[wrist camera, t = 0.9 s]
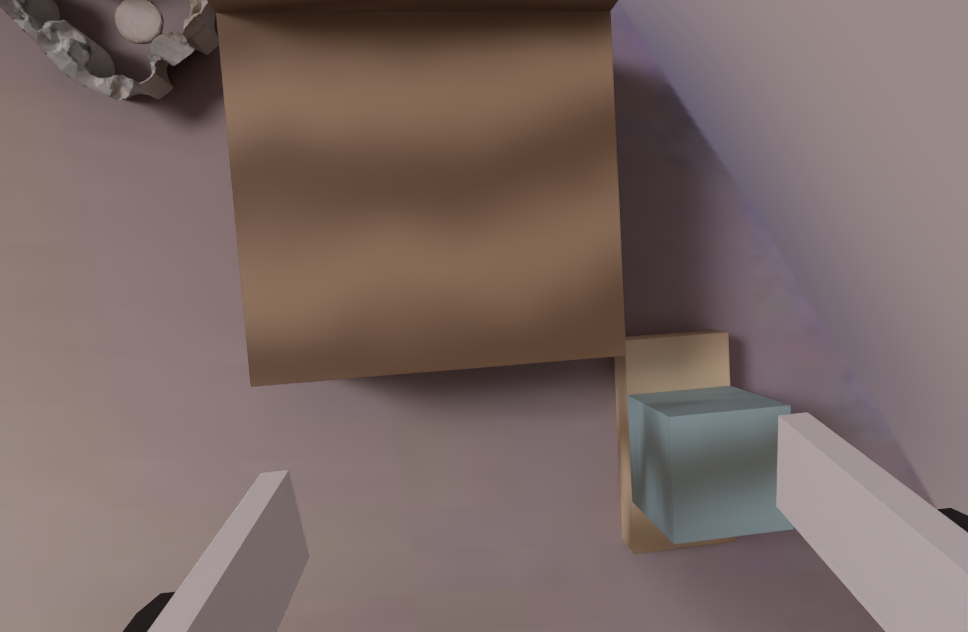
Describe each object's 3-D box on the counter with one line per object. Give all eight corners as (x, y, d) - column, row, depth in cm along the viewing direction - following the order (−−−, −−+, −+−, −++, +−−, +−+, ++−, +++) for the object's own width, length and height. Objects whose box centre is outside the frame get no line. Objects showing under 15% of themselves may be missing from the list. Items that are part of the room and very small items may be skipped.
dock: (579, 339, 31) (655, 365, 21) (289, 362, 29) (225, 402, 19) (564, 50, 30) (637, -63, 20) (262, 54, 28) (180, -69, 18)
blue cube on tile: (716, 526, 33) (795, 589, 26) (621, 537, 33) (676, 606, 26) (709, 329, 33) (788, 341, 26) (611, 336, 32) (666, 351, 25)
